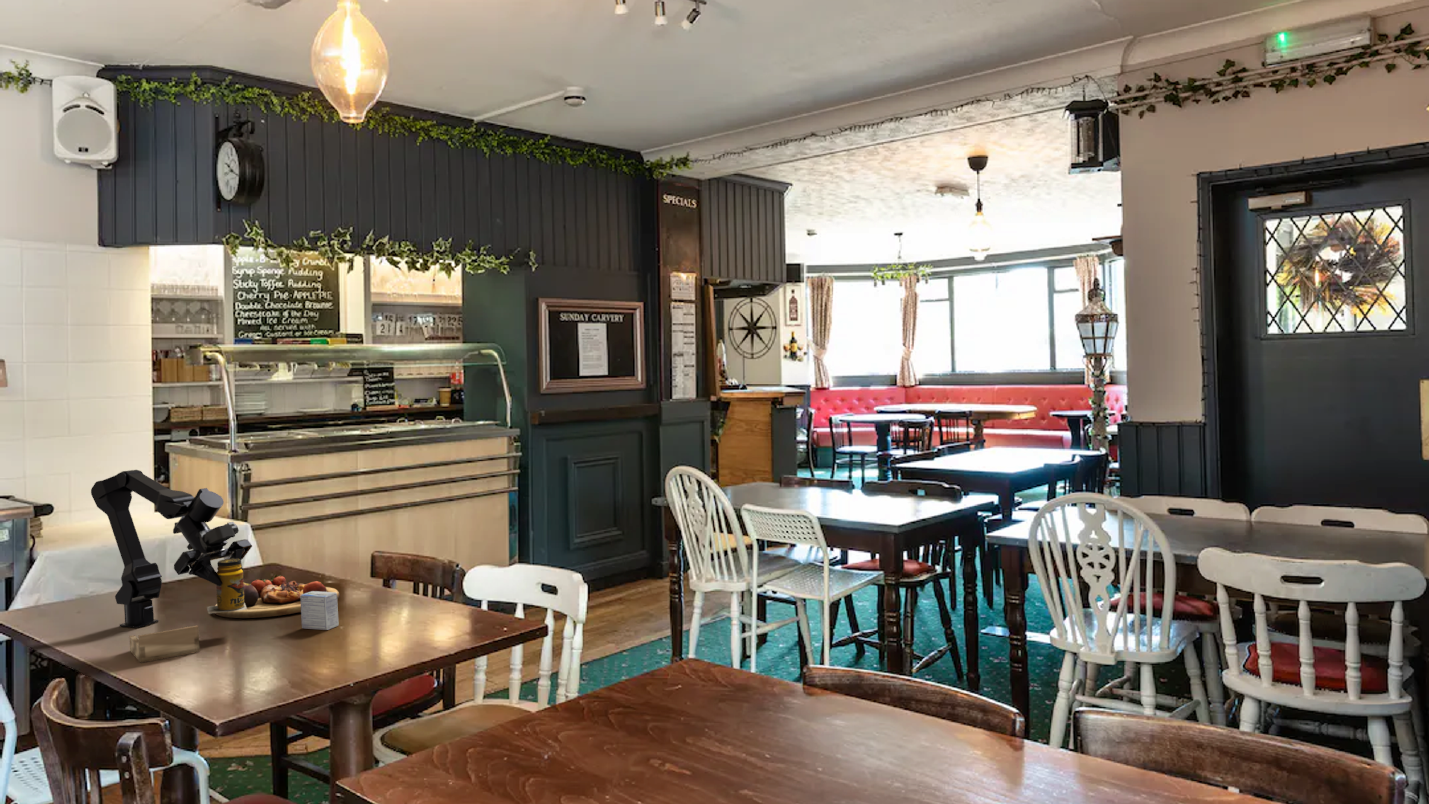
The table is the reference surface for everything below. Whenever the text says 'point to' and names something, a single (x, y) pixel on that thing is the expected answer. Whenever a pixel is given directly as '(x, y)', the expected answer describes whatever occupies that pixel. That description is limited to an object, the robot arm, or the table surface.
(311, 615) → the medicine box
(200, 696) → the table surface
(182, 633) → the drawer
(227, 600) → the condiment
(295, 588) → the wooden plate with food
